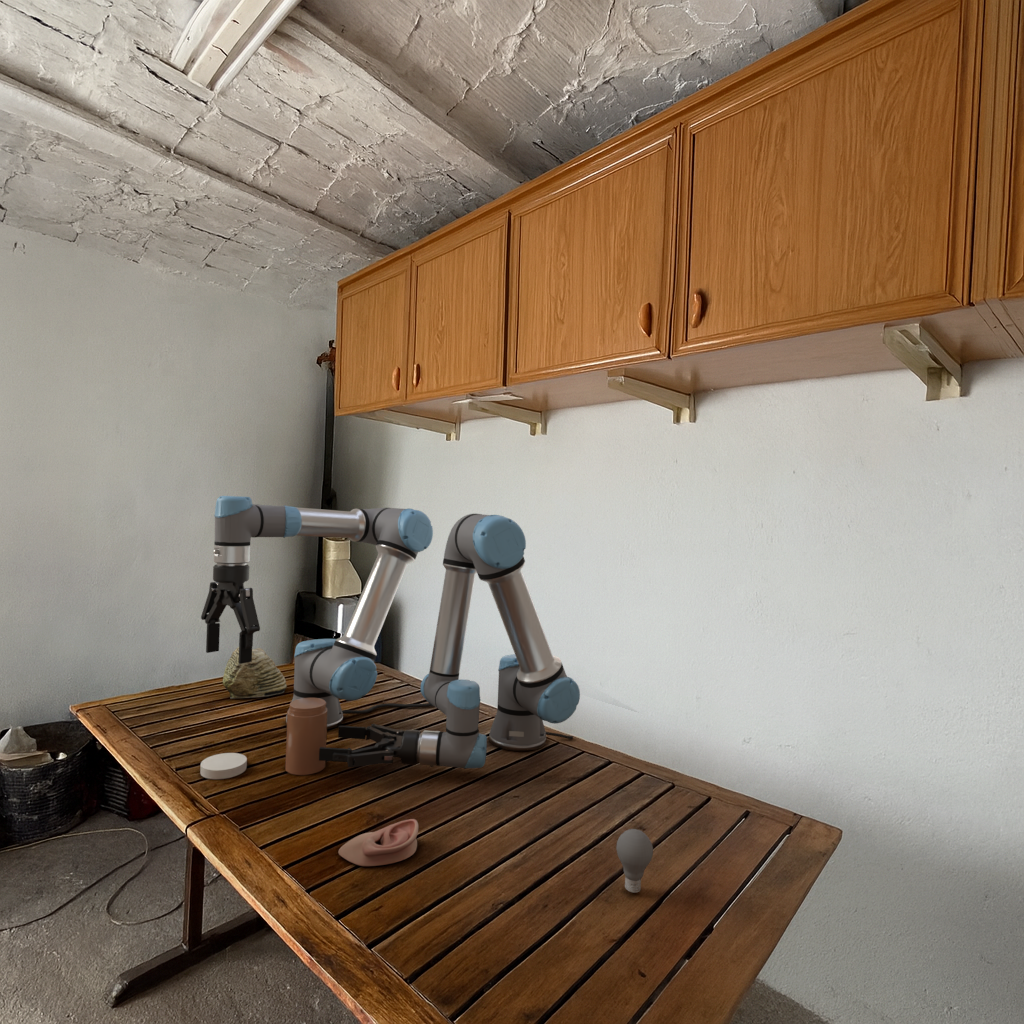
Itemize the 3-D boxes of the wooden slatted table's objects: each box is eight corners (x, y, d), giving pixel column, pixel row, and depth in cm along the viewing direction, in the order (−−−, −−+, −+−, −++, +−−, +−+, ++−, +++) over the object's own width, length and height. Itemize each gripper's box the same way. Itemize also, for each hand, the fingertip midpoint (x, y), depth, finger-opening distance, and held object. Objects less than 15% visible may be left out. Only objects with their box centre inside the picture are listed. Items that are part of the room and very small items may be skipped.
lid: (208, 761, 149) (209, 753, 149) (251, 761, 150) (251, 752, 150) (193, 779, 139) (194, 770, 139) (239, 779, 140) (239, 770, 140)
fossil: (218, 695, 195) (220, 647, 195) (278, 685, 208) (279, 640, 207) (228, 703, 189) (230, 653, 188) (289, 692, 201) (290, 645, 201)
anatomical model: (330, 838, 110) (359, 807, 121) (329, 861, 110) (358, 828, 121) (402, 850, 107) (425, 817, 119) (401, 873, 108) (424, 838, 119)
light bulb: (610, 879, 108) (613, 822, 108) (644, 879, 109) (647, 822, 109) (619, 902, 102) (622, 840, 102) (655, 901, 103) (658, 840, 103)
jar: (316, 776, 143) (318, 710, 143) (278, 773, 144) (280, 707, 144) (331, 760, 152) (333, 698, 152) (295, 757, 153) (297, 695, 153)
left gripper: (187, 559, 148) (184, 650, 148) (247, 570, 133) (243, 670, 134) (218, 558, 154) (215, 644, 154) (278, 568, 139) (275, 664, 140)
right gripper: (408, 787, 135) (309, 781, 135) (428, 743, 159) (345, 738, 160) (409, 752, 134) (311, 746, 135) (429, 713, 159) (346, 708, 160)
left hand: (228, 657), depth 144 cm, fingers open, 13 cm apart
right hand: (329, 742), depth 148 cm, fingers open, 13 cm apart
